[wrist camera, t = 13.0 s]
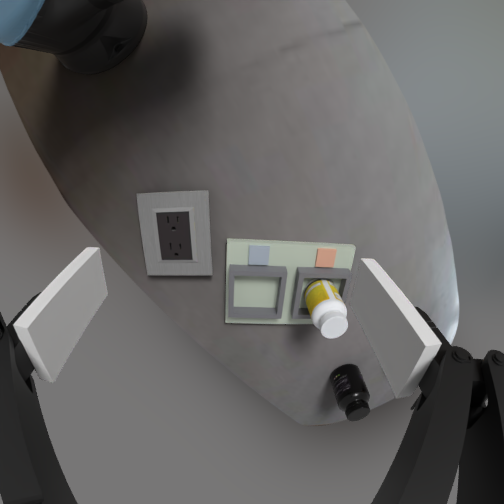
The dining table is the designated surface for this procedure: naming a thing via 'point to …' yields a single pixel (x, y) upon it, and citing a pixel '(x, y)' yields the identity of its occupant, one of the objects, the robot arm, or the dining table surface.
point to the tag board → (280, 278)
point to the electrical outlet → (176, 232)
